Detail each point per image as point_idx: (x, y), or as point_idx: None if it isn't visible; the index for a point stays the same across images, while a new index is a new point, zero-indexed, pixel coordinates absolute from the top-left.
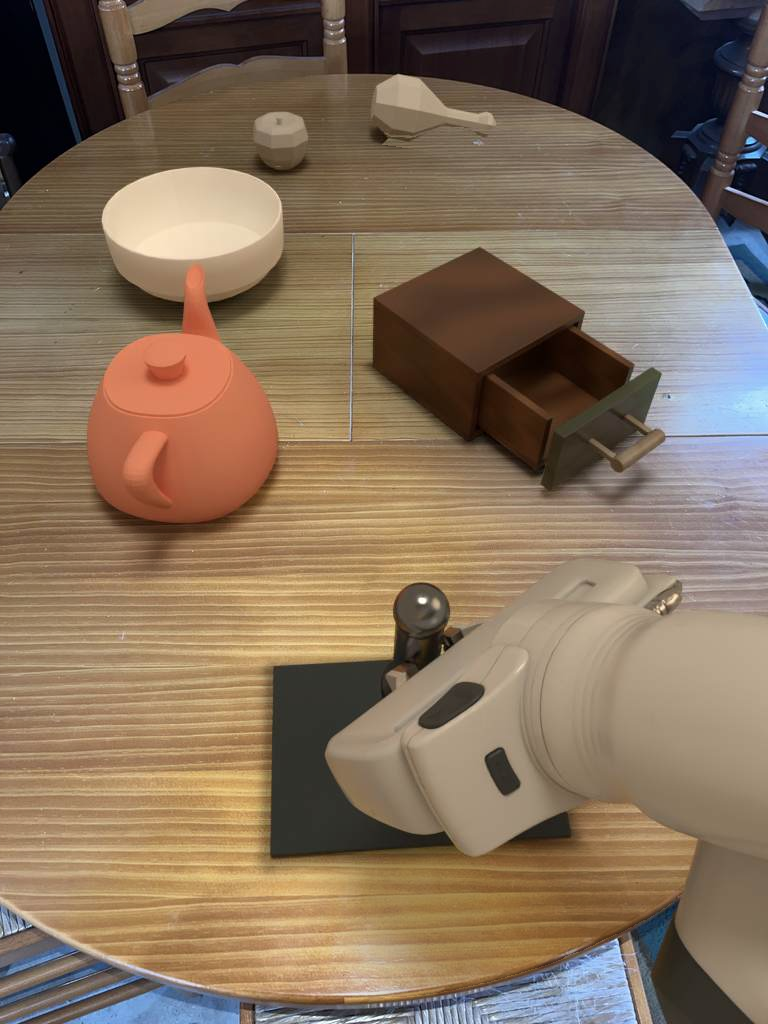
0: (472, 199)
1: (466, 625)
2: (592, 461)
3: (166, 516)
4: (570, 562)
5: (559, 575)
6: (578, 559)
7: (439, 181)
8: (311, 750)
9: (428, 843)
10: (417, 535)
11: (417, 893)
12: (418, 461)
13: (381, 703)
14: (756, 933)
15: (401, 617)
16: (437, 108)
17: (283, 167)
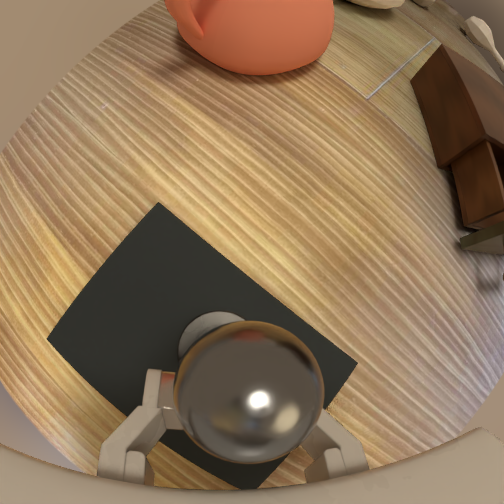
0: None
1: None
2: (489, 252)
3: (196, 46)
4: (493, 445)
5: (474, 470)
6: (500, 448)
7: (480, 62)
8: (122, 296)
9: None
10: (361, 194)
11: None
12: (401, 148)
13: (23, 477)
14: None
15: (177, 395)
16: (492, 44)
17: (416, 1)
